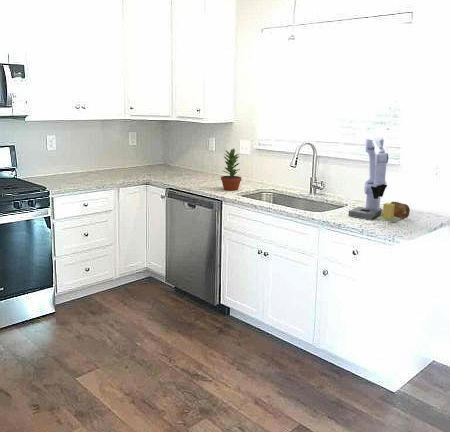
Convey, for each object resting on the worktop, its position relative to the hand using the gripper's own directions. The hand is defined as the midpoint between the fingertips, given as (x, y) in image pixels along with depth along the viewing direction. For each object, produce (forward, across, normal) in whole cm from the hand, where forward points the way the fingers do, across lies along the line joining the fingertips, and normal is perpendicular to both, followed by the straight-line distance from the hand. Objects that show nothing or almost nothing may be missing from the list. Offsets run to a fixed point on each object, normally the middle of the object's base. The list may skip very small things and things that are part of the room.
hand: (378, 197), depth 296 cm
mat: (+10, -4, -8) cm, 14 cm away
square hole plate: (+10, -5, +5) cm, 13 cm away
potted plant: (+10, +6, +109) cm, 110 cm away
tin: (+11, +5, -11) cm, 16 cm away
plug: (+10, -4, -8) cm, 13 cm away
